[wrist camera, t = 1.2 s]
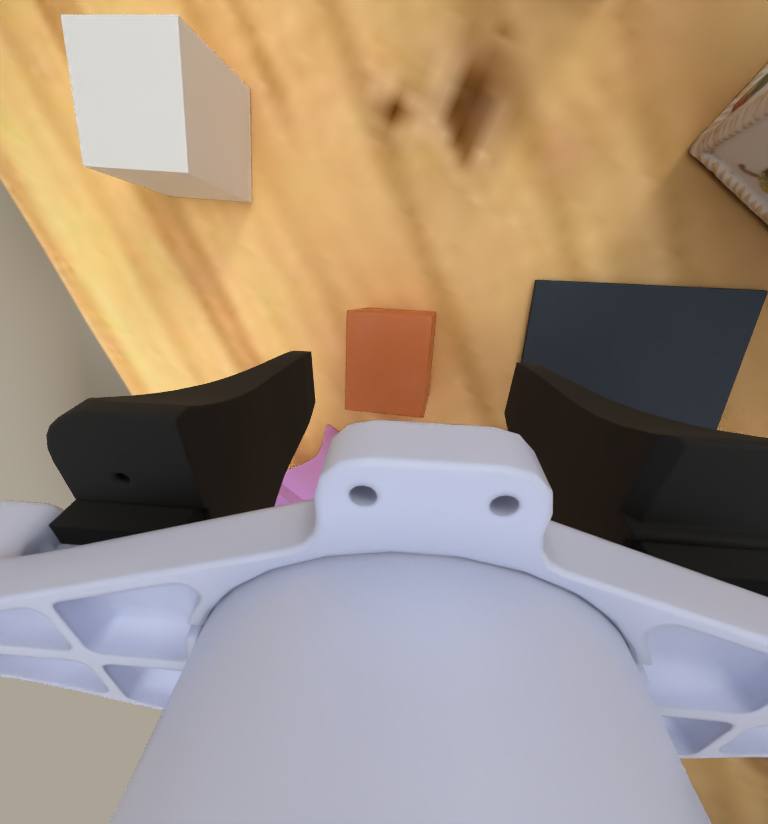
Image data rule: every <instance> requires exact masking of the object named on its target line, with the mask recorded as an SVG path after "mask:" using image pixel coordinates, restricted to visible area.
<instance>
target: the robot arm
mask: <svg viewBox="0 0 768 824" xmlns="http://www.w3.org/2000/svg"><path fill="white" fill-rule="evenodd" d="M314 405H315V392H314V380H313V369H312V357H311V352H307V351H291V352H288V353H285V354H283V355H280V356H278V357H276V358H274V359H271V360H269V361H267V362H265V363H263V364H260V365H258V366H256V367H253V368H251V369H248V370H246V371H243V372H241V373H238V374H236V375H233V376H230V377H227V378H224V379H221V380H218V381H214V382H211V383H207V384H203V385H198V386H194V387H189V388H184V389H179V390H174V391H168V392H161V393H153V394H145V395H134V396H119V397H103V398H89V399H86V400H85V401H84V402H82V403H80V404H79V405H77V406H75V407H74V408H72V409H71V410H69V411H68V412H66V413H65V414H63V415H61V416H60V417H58V418H57V419H56V420H55V421H54V422H53V423H52V424H51V425H50V427H49V429H48V432H47V435H46V436H47V446H48V450H49V452H50V455H51V457H52V460H53V462H54V463H55V465H56V467H57V468H58V470H59V471H60V473H61V475H62V477H63V478H64V480H65V482H66V484H67V485H68V487H69V488H70V490H71V492H72V493H73V495H74V497H75V498H76V500H75V501H74V502H73V503H72V504H71V505H70V506H69V507H68V508H66V509H65V510H63V509H61V508H59V507H58V506H56V505H52V504H47V503H36V502H22V501H3V502H2V503H0V677H6V678H11V679H17V680H24V681H30V682H36V683H42V684H46V685H51V686H56V687H61V688H66V689H70V690H75V691H80V692H84V693H89V694H93V695H97V696H102V697H106V698H111V699H115V700H120V701H124V702H129V703H133V704H137V705H141V706H146V707H150V708H155V709H159V710H163V712H162V714H161V716H160V718H159V720H158V723H157V725H156V727H155V729H154V731H153V733H152V735H151V737H150V739H149V741H148V743H147V745H146V747H145V750H144V752H143V754H142V756H141V758H140V760H139V762H138V764H137V766H136V768H135V770H134V773H133V775H132V777H131V779H130V781H129V783H128V785H127V787H126V790H125V791H124V793H123V796H122V798H121V800H120V802H119V804H118V806H117V808H116V810H115V812H114V814H113V816H112V819H111V821H110V823H109V824H711V822H710V819H709V817H708V815H707V813H706V811H705V809H704V807H703V805H702V803H701V801H700V799H699V797H698V795H697V793H696V791H695V789H694V787H693V785H692V783H691V781H690V779H689V777H688V775H687V773H686V771H685V769H684V766H683V764H682V762H681V760H680V758H737V757H768V438H763V437H756V436H750V435H744V434H737V433H731V432H725V431H719V430H714V429H710V428H705V427H700V426H696V425H691V424H687V423H683V422H679V421H675V420H671V419H667V418H664V417H660V416H657V415H653V414H650V413H647V412H644V411H640V410H637V409H634V408H632V407H629V406H626V405H624V404H621V403H618V402H616V401H613V400H611V399H608V398H606V397H604V396H602V395H599V394H597V393H595V392H593V391H591V390H588V389H586V388H584V387H582V386H580V385H578V384H576V383H574V382H573V381H571V380H569V379H567V378H565V377H563V376H561V375H559V374H557V373H555V372H553V371H551V370H549V369H547V368H545V367H543V366H540V365H538V364H531V363H517V364H516V368H515V372H514V376H513V380H512V384H511V388H510V392H509V397H508V401H507V405H506V409H505V418H506V423H507V428H508V431H506V430H503V429H499V428H496V427H489V426H473V425H456V424H440V423H424V422H407V421H391V420H370V421H364V422H358V423H352V424H349V425H348V426H347V427H345V428H344V429H343V430H341V431H340V432H339V433H338V434H336V435H335V436H334V437H333V438H332V439H331V442H330V445H329V448H328V451H327V455H326V458H325V461H324V464H323V467H322V470H321V473H320V476H319V480H318V483H317V487H316V491H315V495H314V499H310V500H305V501H300V502H295V503H290V504H285V505H280V506H275V503H276V500H277V497H278V494H279V491H280V488H281V485H282V482H283V479H284V476H285V474H286V471H287V469H288V466H289V464H290V462H291V460H292V458H293V456H294V454H295V452H296V450H297V448H298V446H299V444H300V442H301V439H302V437H303V435H304V433H305V431H306V429H307V427H308V424H309V422H310V419H311V416H312V412H313V408H314ZM274 506H275V507H274Z"/></svg>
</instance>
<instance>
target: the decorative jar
mask: <svg viewBox="0 0 768 824" xmlns="http://www.w3.org/2000/svg"><path fill="white" fill-rule="evenodd" d="M690 154H691V155H692V156H693V157H695V158H697V159H698V160H699V161H700V162H701V163H703V164H704V165H705V167H706V168H707V169H708V170H710V171H712V172H713V173H714V174H715V176H716V177H717V178H718V179H719V180H720V181H721V182H722V183H723V184H724V185H725V186H726V187H727V188H728V189H729V190H731V191H732V192H733V193H734V194H735V195H736V196H737V197H738V198H739V199H740V200H741V201H742V202H743V203H744V204H745V205H747V206H748V207H749V209H750V210H751V211H753V212H754V213H755V214H756V215H757V216H759V217H760V218H761V219H762V220H763V221H764V222H765V223H766V224H767V225H768V63H767V64H766V65H765V66H764V67H763V68H762V69H761V70H760V72H759V73H758V74H757V75H756V76H755V77H754V78H753V79H752V80H751V82H750V83H749V84H748V85H747V86H746V87H745V88H744V89H743V90H742V91H741V93H740V94H739V95H738V96H737V97H736V98H735V99H734V100H733V101H732V102H731V103H730V104H729V105H728V107H727V108H726V109H725V110H724V111H723V112H722V113H721V114H720V115H719V116H718V117H717V118H716V119H715V120H714V121H713V122H712V124H711V125H710V126H709V127H708V128H707V129H706V130H705V131H704V132H703V133H702V134H701V135H700V136H699V137H698V138H697V139H696V140H695V141H694V143H693V144H692V146H691V148H690Z"/></svg>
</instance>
